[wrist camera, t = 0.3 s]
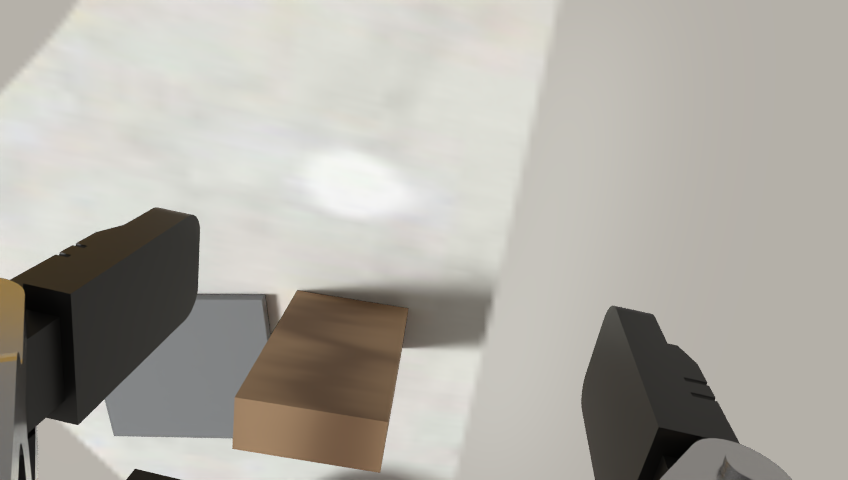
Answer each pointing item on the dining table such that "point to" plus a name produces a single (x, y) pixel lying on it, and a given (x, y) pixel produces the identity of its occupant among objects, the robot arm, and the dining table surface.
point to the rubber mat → (194, 372)
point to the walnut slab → (323, 383)
